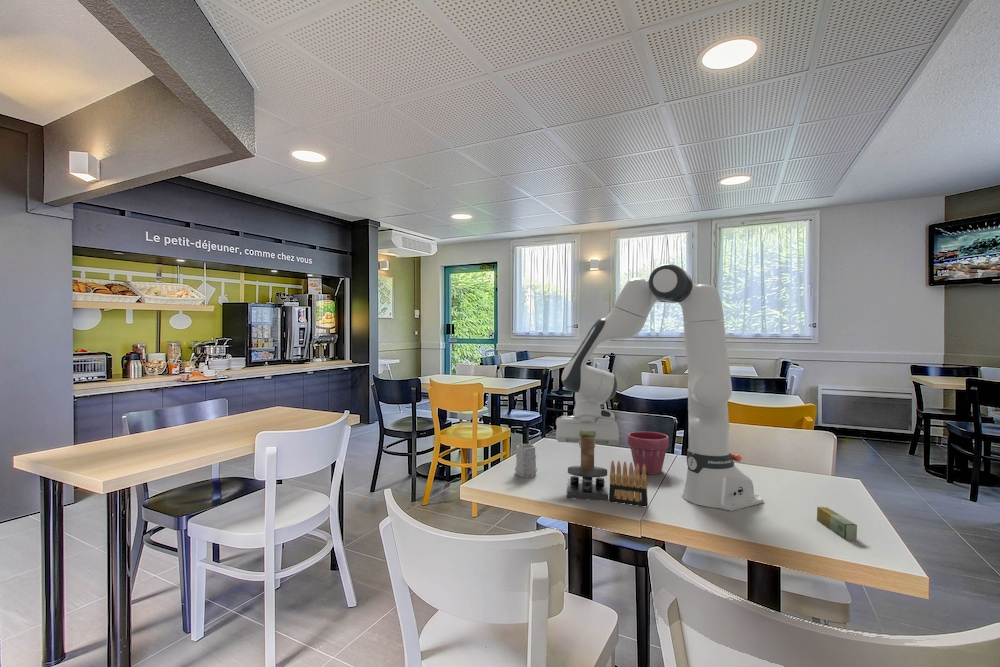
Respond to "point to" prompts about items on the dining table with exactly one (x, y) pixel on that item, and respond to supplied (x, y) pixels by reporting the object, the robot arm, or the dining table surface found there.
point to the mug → (526, 460)
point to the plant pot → (648, 450)
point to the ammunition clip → (628, 485)
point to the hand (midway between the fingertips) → (586, 454)
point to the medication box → (837, 523)
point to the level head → (587, 458)
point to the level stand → (587, 488)
